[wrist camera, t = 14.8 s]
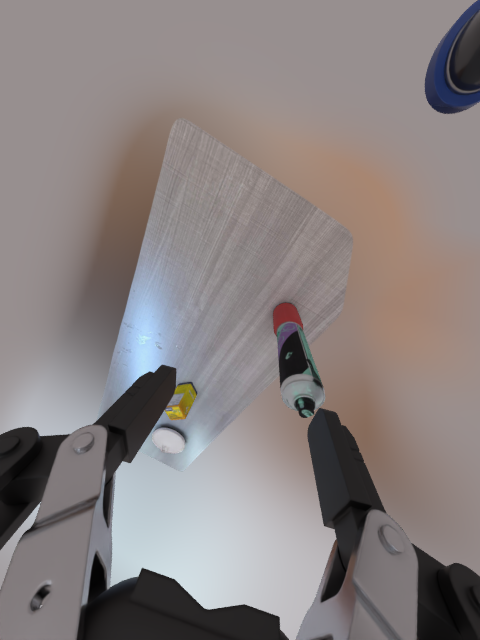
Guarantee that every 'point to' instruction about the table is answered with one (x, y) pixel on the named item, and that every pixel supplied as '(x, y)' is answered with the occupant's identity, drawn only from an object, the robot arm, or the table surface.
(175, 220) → the table surface
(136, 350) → the table surface
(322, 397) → the spray can
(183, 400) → the supplement box
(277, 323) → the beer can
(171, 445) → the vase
